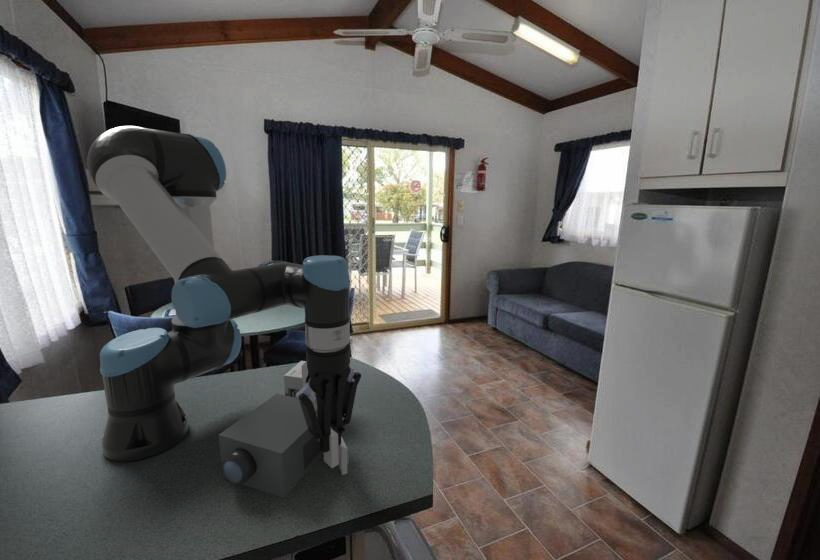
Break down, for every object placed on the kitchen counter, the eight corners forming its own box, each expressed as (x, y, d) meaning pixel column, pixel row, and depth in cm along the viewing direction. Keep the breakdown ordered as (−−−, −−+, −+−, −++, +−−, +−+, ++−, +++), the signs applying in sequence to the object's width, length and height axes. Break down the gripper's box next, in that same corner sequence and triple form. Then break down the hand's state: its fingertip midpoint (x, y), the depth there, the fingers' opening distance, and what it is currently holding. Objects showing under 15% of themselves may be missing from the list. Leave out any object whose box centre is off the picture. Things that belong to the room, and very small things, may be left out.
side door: (330, 446, 78) (330, 423, 76) (338, 444, 78) (337, 421, 77) (342, 475, 70) (341, 449, 68) (350, 472, 70) (350, 447, 69)
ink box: (302, 401, 96) (300, 348, 93) (320, 404, 95) (318, 350, 92) (285, 420, 88) (282, 363, 85) (304, 423, 87) (302, 365, 84)
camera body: (210, 487, 67) (205, 439, 65) (278, 429, 85) (276, 390, 82) (279, 511, 62) (276, 461, 60) (337, 445, 80) (336, 403, 78)
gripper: (305, 362, 57) (310, 492, 62) (370, 341, 66) (370, 456, 71) (282, 348, 62) (289, 469, 67) (346, 330, 72) (347, 438, 77)
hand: (331, 462), depth 69 cm, fingers closed
